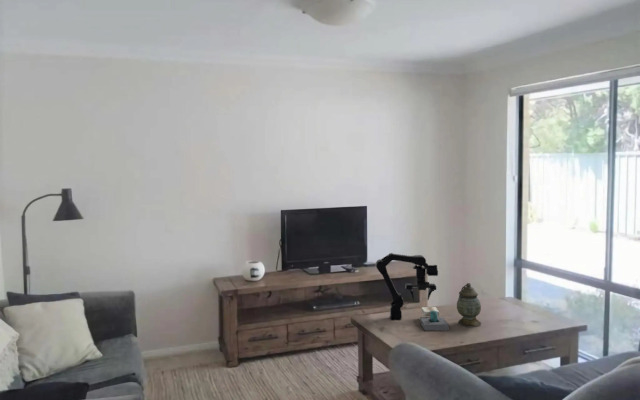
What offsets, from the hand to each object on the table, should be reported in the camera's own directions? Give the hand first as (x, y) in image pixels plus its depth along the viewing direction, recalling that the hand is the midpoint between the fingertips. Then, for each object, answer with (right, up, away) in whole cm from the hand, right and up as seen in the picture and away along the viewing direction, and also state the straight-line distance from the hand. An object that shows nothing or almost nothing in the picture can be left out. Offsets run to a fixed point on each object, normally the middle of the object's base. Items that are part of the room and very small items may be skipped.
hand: (420, 300), depth 312 cm
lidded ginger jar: (+27, -12, -11) cm, 32 cm away
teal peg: (+5, -12, -14) cm, 19 cm away
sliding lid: (+5, -8, -3) cm, 10 cm away
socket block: (+5, -13, -14) cm, 20 cm away
